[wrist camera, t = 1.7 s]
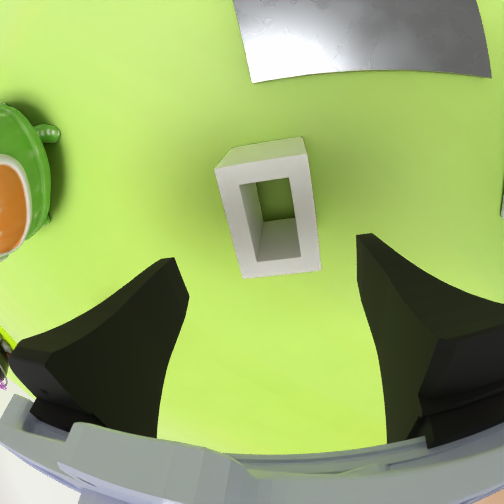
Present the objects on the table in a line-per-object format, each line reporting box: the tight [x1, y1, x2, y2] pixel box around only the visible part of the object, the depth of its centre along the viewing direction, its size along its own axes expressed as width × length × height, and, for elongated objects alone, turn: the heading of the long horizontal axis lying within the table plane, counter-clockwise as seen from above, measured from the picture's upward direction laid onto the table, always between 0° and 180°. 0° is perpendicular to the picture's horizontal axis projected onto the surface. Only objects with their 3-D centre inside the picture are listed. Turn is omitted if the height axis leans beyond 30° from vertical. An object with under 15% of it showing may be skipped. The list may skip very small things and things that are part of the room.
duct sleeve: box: [214, 137, 321, 279], centre depth 17 cm, size 6×4×5 cm
